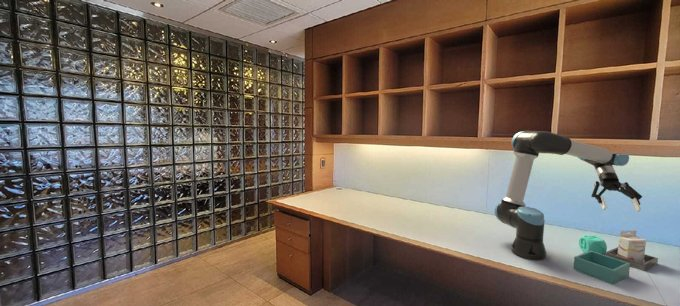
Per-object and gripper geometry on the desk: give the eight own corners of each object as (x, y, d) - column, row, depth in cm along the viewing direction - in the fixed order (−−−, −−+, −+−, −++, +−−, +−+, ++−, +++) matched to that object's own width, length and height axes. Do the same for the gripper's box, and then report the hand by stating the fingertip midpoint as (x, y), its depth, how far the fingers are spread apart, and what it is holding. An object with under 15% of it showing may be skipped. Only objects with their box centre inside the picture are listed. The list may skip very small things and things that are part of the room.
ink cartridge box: (627, 263, 132) (629, 234, 131) (616, 258, 137) (619, 230, 136) (644, 263, 133) (647, 233, 131) (633, 258, 137) (635, 229, 136)
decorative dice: (606, 256, 140) (607, 241, 139) (588, 255, 141) (589, 240, 141) (595, 249, 148) (596, 235, 147) (578, 248, 149) (579, 234, 148)
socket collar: (604, 258, 138) (605, 252, 138) (618, 252, 144) (618, 246, 144) (644, 271, 126) (644, 264, 125) (657, 264, 131) (658, 258, 131)
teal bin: (573, 269, 128) (574, 256, 128) (589, 262, 134) (590, 250, 134) (613, 284, 116) (614, 270, 115) (628, 276, 122) (629, 263, 121)
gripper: (632, 180, 154) (649, 214, 141) (577, 178, 162) (588, 211, 150) (640, 172, 148) (658, 207, 136) (582, 171, 157) (594, 204, 144)
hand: (621, 209), depth 143 cm, fingers open, 13 cm apart
